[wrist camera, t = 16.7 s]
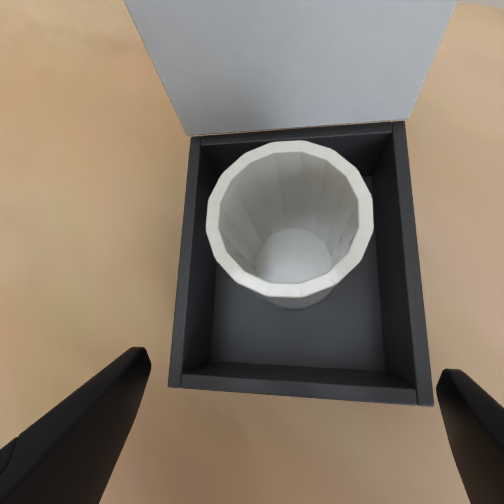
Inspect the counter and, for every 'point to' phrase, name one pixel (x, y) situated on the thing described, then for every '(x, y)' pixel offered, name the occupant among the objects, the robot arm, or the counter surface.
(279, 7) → the grey flat rectangular panel
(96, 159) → the counter surface
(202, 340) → the dark grey open box
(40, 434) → the robot arm
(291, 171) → the white cup
